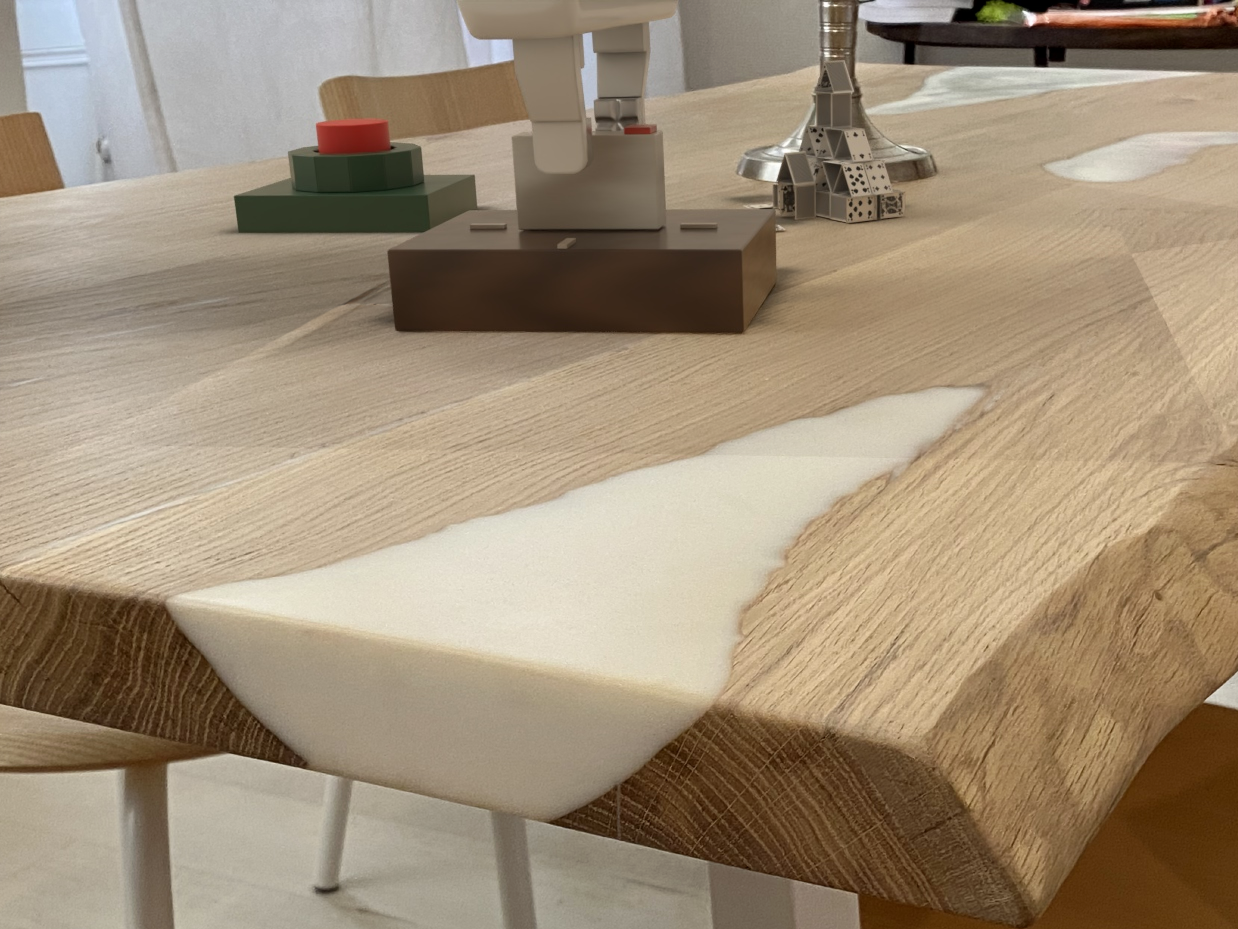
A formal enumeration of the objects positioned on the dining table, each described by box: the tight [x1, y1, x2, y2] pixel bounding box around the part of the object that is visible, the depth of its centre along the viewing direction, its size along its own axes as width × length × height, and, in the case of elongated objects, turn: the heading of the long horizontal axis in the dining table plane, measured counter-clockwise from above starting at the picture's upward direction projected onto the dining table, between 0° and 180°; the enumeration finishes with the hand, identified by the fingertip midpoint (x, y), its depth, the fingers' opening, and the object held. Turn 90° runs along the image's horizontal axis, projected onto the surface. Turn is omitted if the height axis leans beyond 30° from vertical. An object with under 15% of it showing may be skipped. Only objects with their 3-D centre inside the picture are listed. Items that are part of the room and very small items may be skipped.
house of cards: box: [743, 59, 906, 231], centre depth 84 cm, size 9×9×8 cm
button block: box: [233, 141, 478, 234], centre depth 83 cm, size 10×8×4 cm
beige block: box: [511, 123, 667, 230], centre depth 62 cm, size 6×2×4 cm, turn 82°
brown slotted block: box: [386, 208, 778, 334], centre depth 63 cm, size 13×10×3 cm
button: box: [315, 118, 391, 153], centre depth 83 cm, size 4×4×2 cm
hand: (595, 156), depth 61 cm, fingers open, 8 cm apart
